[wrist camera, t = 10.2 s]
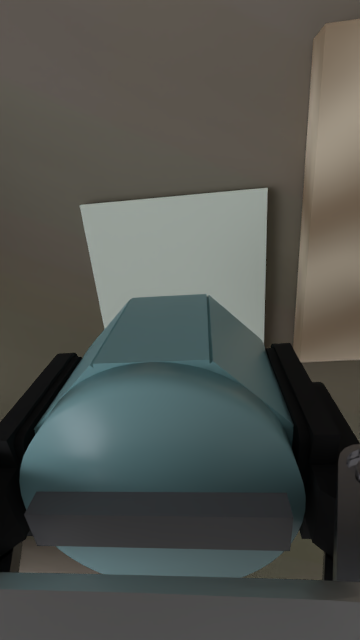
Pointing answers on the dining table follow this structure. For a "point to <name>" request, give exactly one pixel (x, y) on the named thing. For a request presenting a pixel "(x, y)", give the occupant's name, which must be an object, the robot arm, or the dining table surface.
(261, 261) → the mat
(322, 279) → the post base
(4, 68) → the dining table surface
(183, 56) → the dining table surface
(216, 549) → the cap
